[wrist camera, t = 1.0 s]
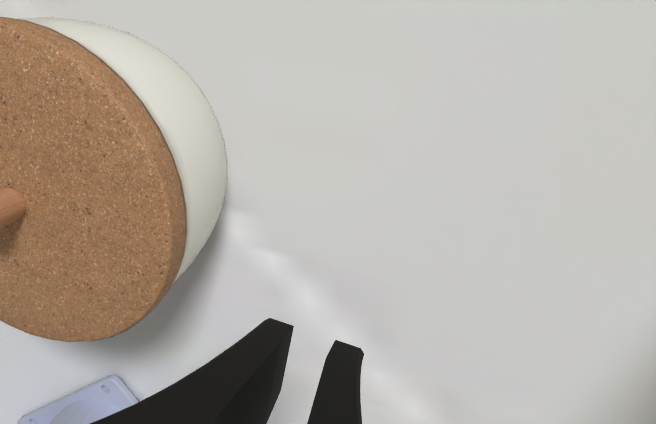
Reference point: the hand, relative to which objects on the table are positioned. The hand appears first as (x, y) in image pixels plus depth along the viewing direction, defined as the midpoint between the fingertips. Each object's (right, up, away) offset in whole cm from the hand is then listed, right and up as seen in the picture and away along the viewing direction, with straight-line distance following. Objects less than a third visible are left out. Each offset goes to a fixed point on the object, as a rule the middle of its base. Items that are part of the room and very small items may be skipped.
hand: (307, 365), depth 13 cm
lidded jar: (-7, +7, +11) cm, 15 cm away
